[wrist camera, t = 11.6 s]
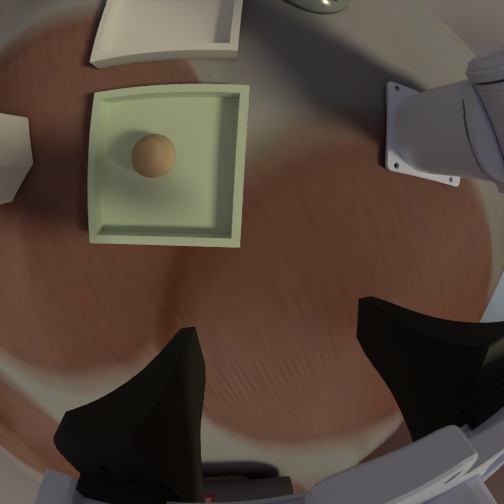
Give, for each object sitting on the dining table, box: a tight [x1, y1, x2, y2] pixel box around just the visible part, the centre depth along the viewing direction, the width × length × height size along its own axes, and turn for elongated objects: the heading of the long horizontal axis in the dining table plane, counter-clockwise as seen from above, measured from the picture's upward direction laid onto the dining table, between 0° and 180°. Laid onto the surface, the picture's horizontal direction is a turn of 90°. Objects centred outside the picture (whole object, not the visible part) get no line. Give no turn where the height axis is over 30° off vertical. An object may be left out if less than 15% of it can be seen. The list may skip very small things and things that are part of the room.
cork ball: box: [131, 134, 175, 178], centre depth 17 cm, size 3×3×3 cm
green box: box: [88, 84, 250, 248], centre depth 18 cm, size 11×11×2 cm
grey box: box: [90, 0, 243, 69], centre depth 14 cm, size 11×11×2 cm
